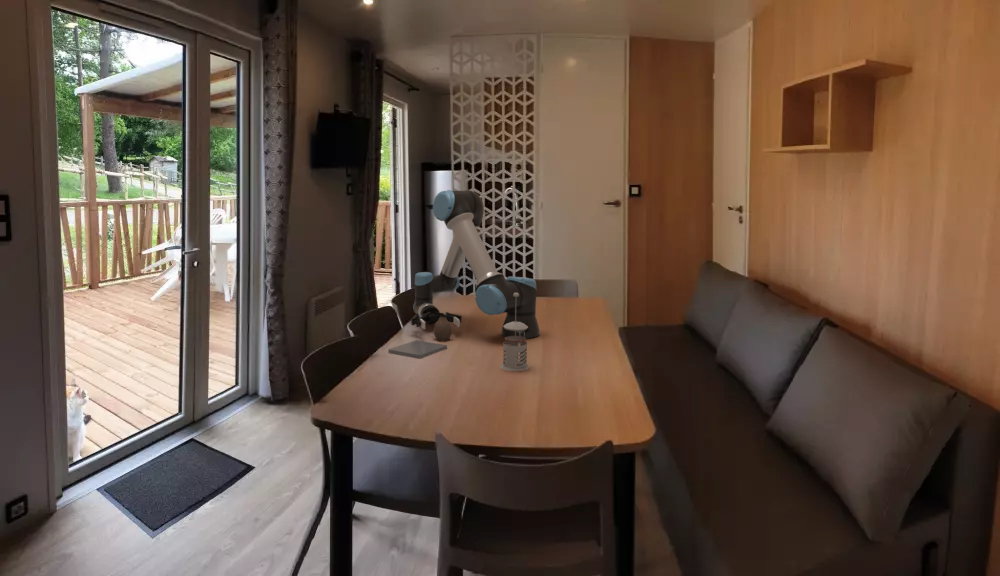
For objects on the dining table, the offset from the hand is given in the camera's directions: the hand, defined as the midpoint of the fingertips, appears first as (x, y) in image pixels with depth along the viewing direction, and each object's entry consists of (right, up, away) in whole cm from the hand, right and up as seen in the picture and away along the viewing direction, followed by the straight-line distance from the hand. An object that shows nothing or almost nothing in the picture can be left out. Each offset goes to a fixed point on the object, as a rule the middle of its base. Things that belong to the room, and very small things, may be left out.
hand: (441, 324), depth 247 cm
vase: (0, -6, +1) cm, 6 cm away
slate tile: (-7, -8, -15) cm, 19 cm away
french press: (+28, -12, -33) cm, 45 cm away
